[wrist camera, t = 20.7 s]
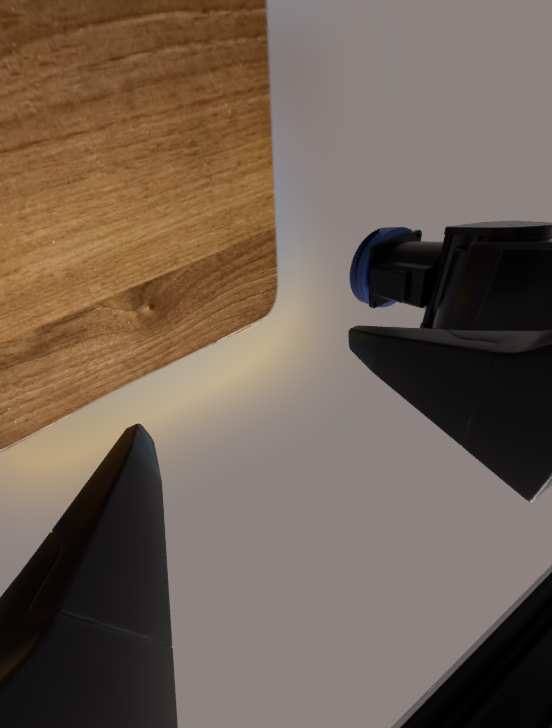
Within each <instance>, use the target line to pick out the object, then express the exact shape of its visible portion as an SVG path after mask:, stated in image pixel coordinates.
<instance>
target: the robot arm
mask: <svg viewBox="0 0 552 728" xmlns="http://www.w3.org/2000/svg"><path fill="white" fill-rule="evenodd" d="M444 234H445V237H444V241H443V242H424V241H423V242H422V241H421V236H422V232H421V231H420V230H415V231H412V232H409V233H406V234H403V235H400V236H397V237H394V238H391V239H388V240H385V241H383V242H380V243H377V244H374V245H372V246H371V248H370V258H369V306H370V307H372V308H376V307H378V306H381V305H383V304H385V303H388V302H390V301H396V302H400V303H405V304H409V305H412V306H416V307H420V308H425V309H426V310H425V314H424V318H423V322H422V323H421V325H420V328H400V327H377V326H355V327H353V328H351V329H350V330H349V347H350V349H351V350H352V352H353V353H354V354H355V355H356V356H357V357H358V358H359V359H360V360H361V361H362V362H363V363H364V364H365V365H366V366H367V367H368V368H369V369H370V370H371V371H372V372H373V373H374V374H375V375H377V376H378V377H379V378H380V379H381V380H383V381H384V382H385V383H386V384H387V385H389V386H390V387H391V388H392V389H393V390H395V391H396V392H397V393H398V394H400V395H401V396H402V397H403V398H404V399H406V400H407V401H408V402H409V403H410V404H412V405H413V406H414V407H415V408H416V409H418V410H419V411H420V412H421V413H423V414H424V415H425V416H426V417H427V418H428V419H430V420H431V421H432V422H433V423H434V424H436V425H437V426H438V427H439V428H441V429H442V430H443V431H444V432H445V433H447V434H448V435H449V436H450V437H451V438H453V439H454V440H455V441H456V442H457V443H459V444H460V445H462V447H463V448H465V449H466V450H467V451H468V452H469V453H470V454H472V455H473V456H474V457H475V458H476V459H478V460H479V461H480V462H481V463H482V464H484V465H485V466H486V467H487V468H489V469H490V470H491V471H492V472H494V474H496V475H497V476H498V477H499V478H501V479H502V480H503V481H504V482H505V483H507V484H508V485H509V486H510V487H511V488H513V489H514V490H515V491H516V492H517V493H519V494H520V495H521V496H522V497H524V498H525V499H526V500H528V501H529V502H533V500H535V499H536V498H537V497H538V496H539V495H541V494H542V493H543V492H544V491H545V490H546V489H547V488H549V487H550V486H551V485H552V223H547V222H529V221H501V222H481V223H473V224H465V225H456V226H449V227H446V229H445V233H444ZM375 249H376V250H375ZM373 303H374V304H373ZM171 646H172V634H171V620H170V603H169V587H168V571H167V556H166V540H165V525H164V508H163V493H162V481H161V475H160V470H159V465H158V460H157V455H156V450H155V445H154V441H153V439H152V437H151V436H150V435H149V434H148V432H147V431H146V430H145V429H144V427H143V426H142V425H141V424H135V425H133V426H131V427H129V428H127V429H126V430H125V431H124V433H123V434H122V435H121V437H120V438H119V439H118V441H117V442H116V443H115V445H114V446H113V448H112V449H111V450H110V452H109V453H108V454H107V456H106V457H105V458H104V460H103V461H102V463H101V464H100V465H99V467H98V468H97V469H96V471H95V472H94V473H93V475H92V476H91V478H90V479H89V480H88V482H87V483H86V484H85V486H84V487H83V488H82V490H81V491H80V492H79V494H78V495H77V497H76V498H75V499H74V501H73V502H72V503H71V505H70V506H69V507H68V509H67V510H66V512H65V513H64V514H63V516H62V517H61V518H60V520H59V521H58V522H57V524H56V525H55V526H54V528H53V529H52V532H51V533H49V534H48V536H47V537H46V539H45V540H44V541H43V543H42V544H41V546H40V547H39V548H38V549H37V551H36V552H35V553H34V555H33V556H32V557H31V559H30V560H29V561H28V563H27V564H26V565H25V567H24V568H23V569H22V571H21V572H20V573H19V575H18V576H17V577H16V578H15V580H14V581H13V582H12V583H11V585H10V586H9V587H8V588H7V590H6V591H5V592H4V593H3V595H2V596H1V597H0V728H178V726H177V710H176V695H175V680H174V664H173V648H172V647H171ZM391 728H552V565H551V566H550V567H549V568H548V569H547V570H546V571H545V572H544V573H543V574H542V575H541V576H540V577H539V578H538V579H537V580H536V581H535V582H534V583H533V584H532V585H531V586H530V587H529V588H528V589H527V590H526V591H525V592H524V593H523V594H522V595H521V596H520V597H519V598H518V600H516V601H515V603H514V604H513V605H512V606H511V607H510V608H509V609H508V610H507V611H506V612H505V613H504V614H503V615H502V616H501V617H500V618H499V619H498V620H497V621H496V622H495V623H494V624H493V625H492V626H491V627H490V628H489V629H488V630H487V631H486V632H485V633H484V634H483V635H482V636H481V637H480V638H479V639H478V640H477V641H476V642H475V643H474V644H473V645H472V646H471V647H470V648H469V649H468V650H467V651H466V652H465V653H464V654H463V655H462V656H461V658H459V659H458V660H457V661H456V662H455V663H454V664H453V665H452V666H451V667H450V669H449V670H448V671H446V672H445V674H444V675H443V676H442V677H441V678H440V679H439V680H438V681H437V682H436V683H435V684H434V685H433V686H432V687H431V688H430V689H429V690H428V691H427V692H426V693H425V694H424V695H423V696H422V697H421V698H420V699H419V700H418V701H417V702H416V703H415V704H414V705H413V706H412V707H411V708H410V709H409V710H408V711H407V712H406V713H405V714H404V715H403V716H402V717H401V718H400V719H399V720H398V721H397V722H396V723H395V724H394V725H393V726H392V727H391Z"/></svg>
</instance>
